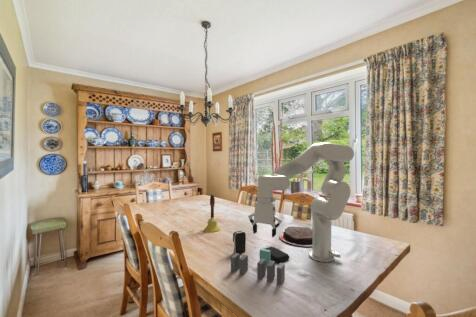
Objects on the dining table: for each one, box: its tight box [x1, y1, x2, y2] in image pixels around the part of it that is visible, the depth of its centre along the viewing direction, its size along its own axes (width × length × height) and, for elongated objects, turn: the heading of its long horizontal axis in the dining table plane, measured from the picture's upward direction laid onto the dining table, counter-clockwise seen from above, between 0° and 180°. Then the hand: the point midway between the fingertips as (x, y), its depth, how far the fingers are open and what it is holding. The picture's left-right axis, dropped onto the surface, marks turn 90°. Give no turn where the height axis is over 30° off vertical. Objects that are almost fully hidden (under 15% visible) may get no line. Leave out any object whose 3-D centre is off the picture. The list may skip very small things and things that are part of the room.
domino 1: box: [230, 253, 241, 274], centre depth 109 cm, size 2×5×7 cm, turn 153°
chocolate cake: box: [278, 226, 312, 248], centre depth 150 cm, size 28×28×7 cm
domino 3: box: [259, 248, 272, 266], centre depth 115 cm, size 2×5×7 cm, turn 63°
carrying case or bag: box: [264, 246, 290, 264], centre depth 124 cm, size 11×3×15 cm
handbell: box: [203, 194, 222, 234], centre depth 167 cm, size 12×12×25 cm
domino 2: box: [238, 254, 249, 276], centre depth 107 cm, size 2×5×7 cm, turn 153°
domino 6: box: [276, 262, 286, 286], centre depth 100 cm, size 2×5×7 cm, turn 153°
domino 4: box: [256, 259, 267, 281], centre depth 103 cm, size 2×5×7 cm, turn 153°
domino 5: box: [266, 260, 276, 283], centre depth 102 cm, size 2×5×7 cm, turn 153°
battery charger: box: [232, 230, 247, 254], centre depth 130 cm, size 7×4×11 cm, turn 122°
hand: (264, 234), depth 115 cm, fingers open, 9 cm apart
